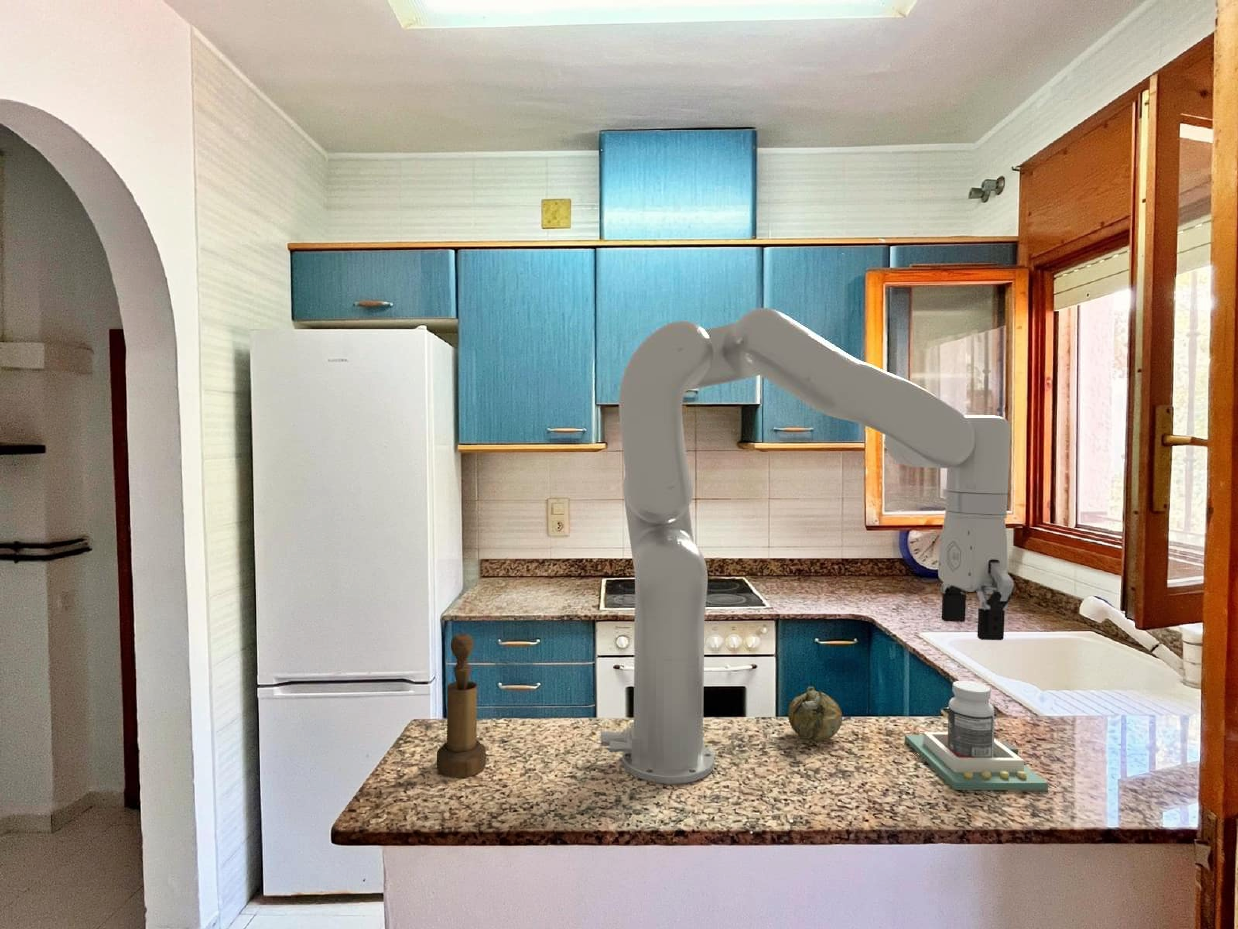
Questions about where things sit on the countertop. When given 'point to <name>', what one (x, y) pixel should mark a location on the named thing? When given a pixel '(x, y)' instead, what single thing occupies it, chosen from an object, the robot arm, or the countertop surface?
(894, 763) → the countertop surface
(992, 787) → the board
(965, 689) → the pill bottle
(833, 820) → the countertop surface
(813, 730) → the onion
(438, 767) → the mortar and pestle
